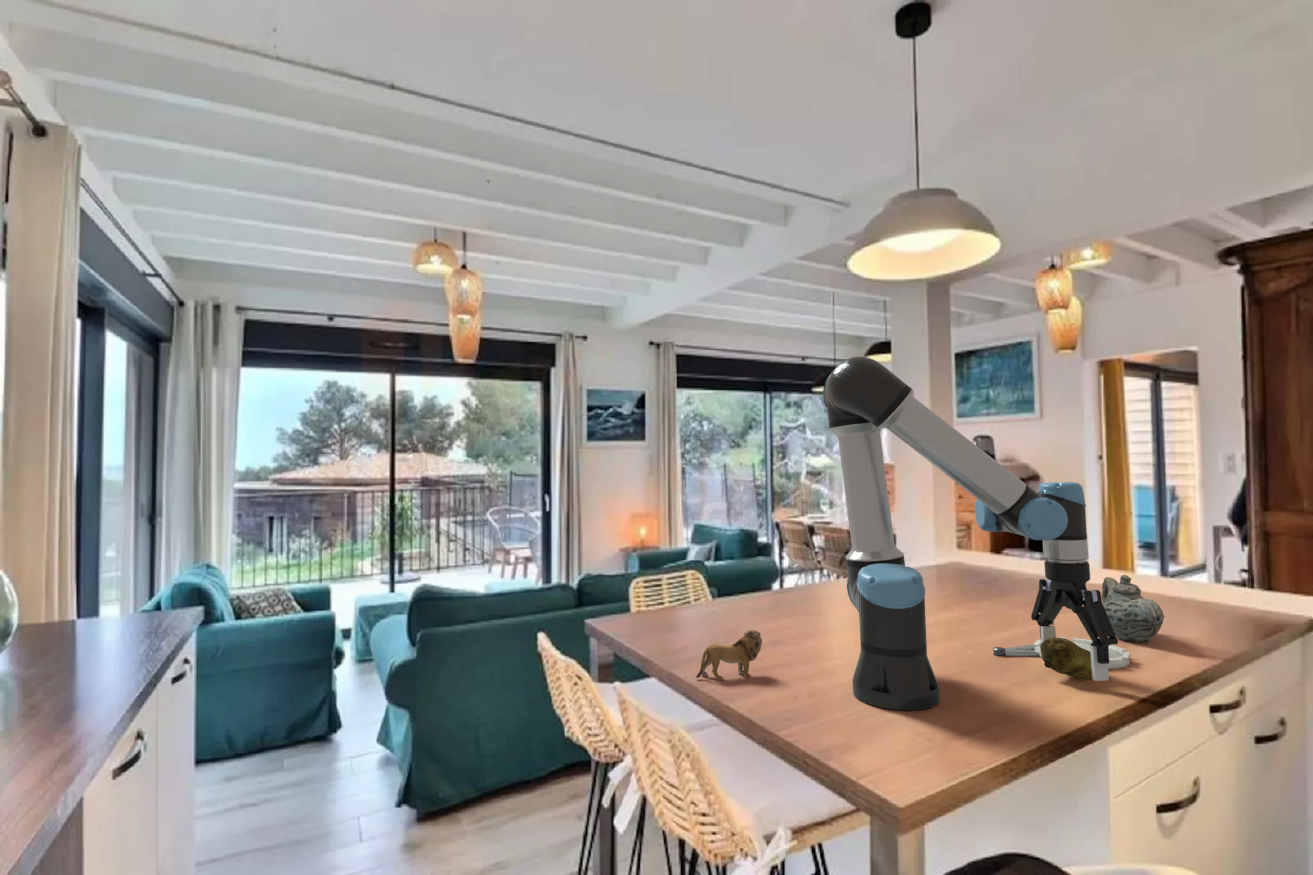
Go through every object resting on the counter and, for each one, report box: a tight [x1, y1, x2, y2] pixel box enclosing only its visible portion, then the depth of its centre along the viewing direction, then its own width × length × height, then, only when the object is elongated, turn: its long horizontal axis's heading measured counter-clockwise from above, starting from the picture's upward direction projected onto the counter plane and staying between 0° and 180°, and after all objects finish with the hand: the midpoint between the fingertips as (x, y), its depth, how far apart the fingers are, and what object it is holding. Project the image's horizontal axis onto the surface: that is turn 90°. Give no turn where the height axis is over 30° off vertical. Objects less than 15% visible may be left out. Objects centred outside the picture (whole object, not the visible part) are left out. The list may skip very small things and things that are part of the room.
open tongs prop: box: [992, 644, 1039, 657], centre depth 140 cm, size 16×9×1 cm, turn 94°
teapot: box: [1101, 574, 1165, 643], centre depth 149 cm, size 21×12×15 cm, turn 171°
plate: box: [1032, 636, 1131, 670], centre depth 137 cm, size 17×17×2 cm
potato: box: [1040, 637, 1092, 680], centre depth 124 cm, size 8×13×8 cm, turn 97°
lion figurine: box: [695, 629, 763, 681], centre depth 131 cm, size 15×5×9 cm, turn 105°
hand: (1074, 668), depth 124 cm, fingers open, 13 cm apart
